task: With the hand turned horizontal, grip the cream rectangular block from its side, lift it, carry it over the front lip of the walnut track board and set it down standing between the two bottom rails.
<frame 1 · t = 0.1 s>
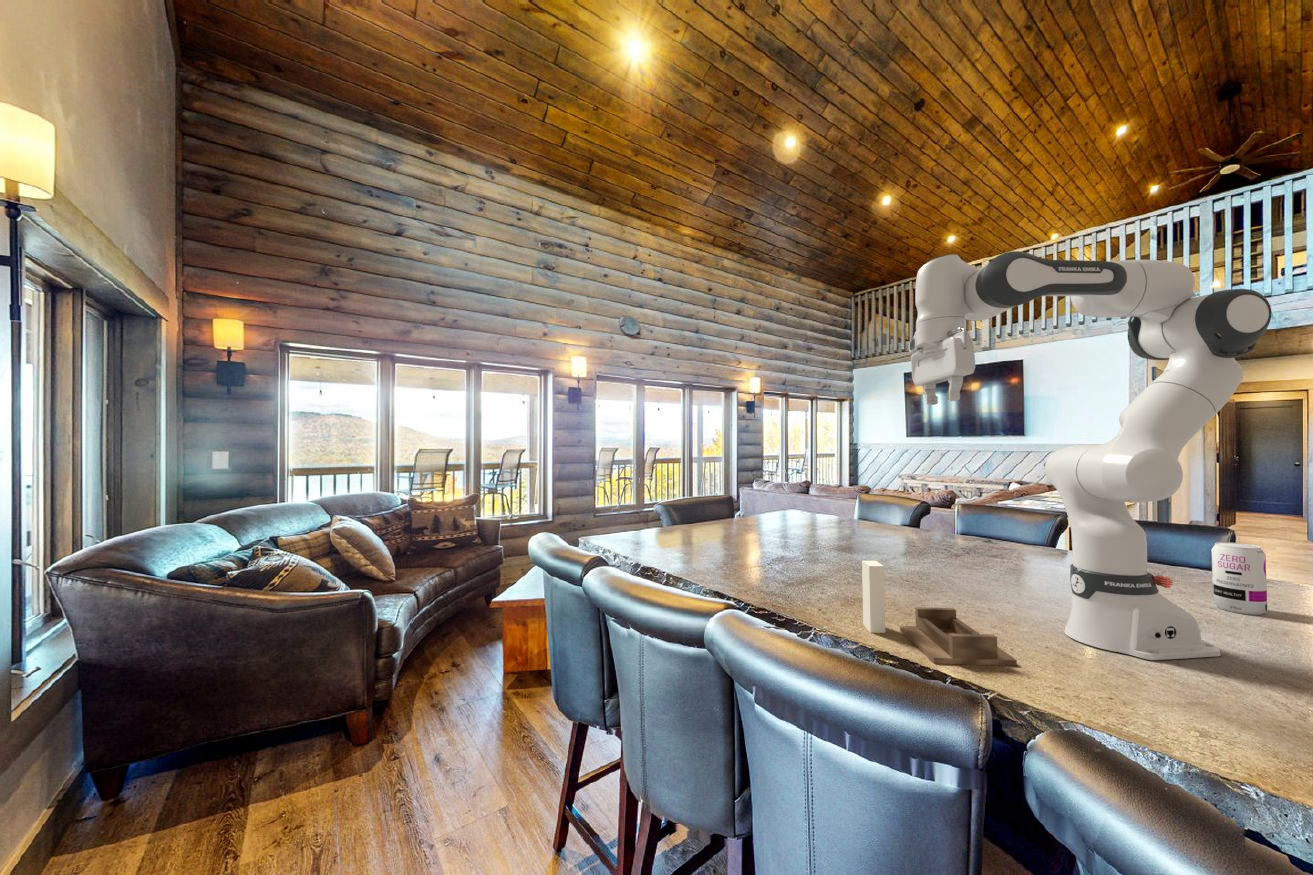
hand: (942, 403, 103), 48 cm above the table, tool pointing down, fingers open, 8 cm apart
track board: (953, 646, 98), on the table
supplement can: (1239, 610, 116), on the table
cream rectangular block: (874, 628, 108), on the table
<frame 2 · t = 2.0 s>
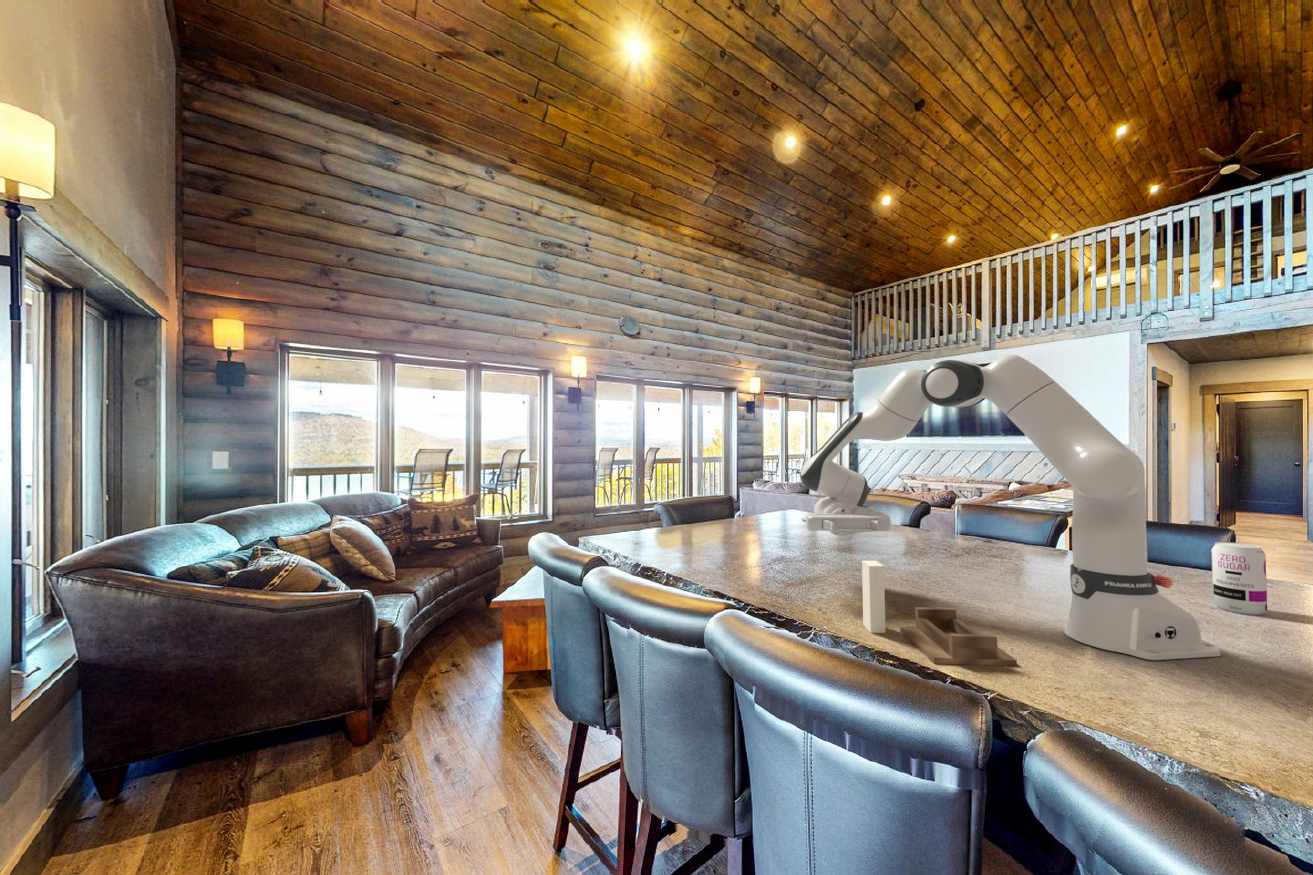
hand: (855, 527, 120), 20 cm above the table, tool horizontal, fingers open, 8 cm apart
nothing on the table moved.
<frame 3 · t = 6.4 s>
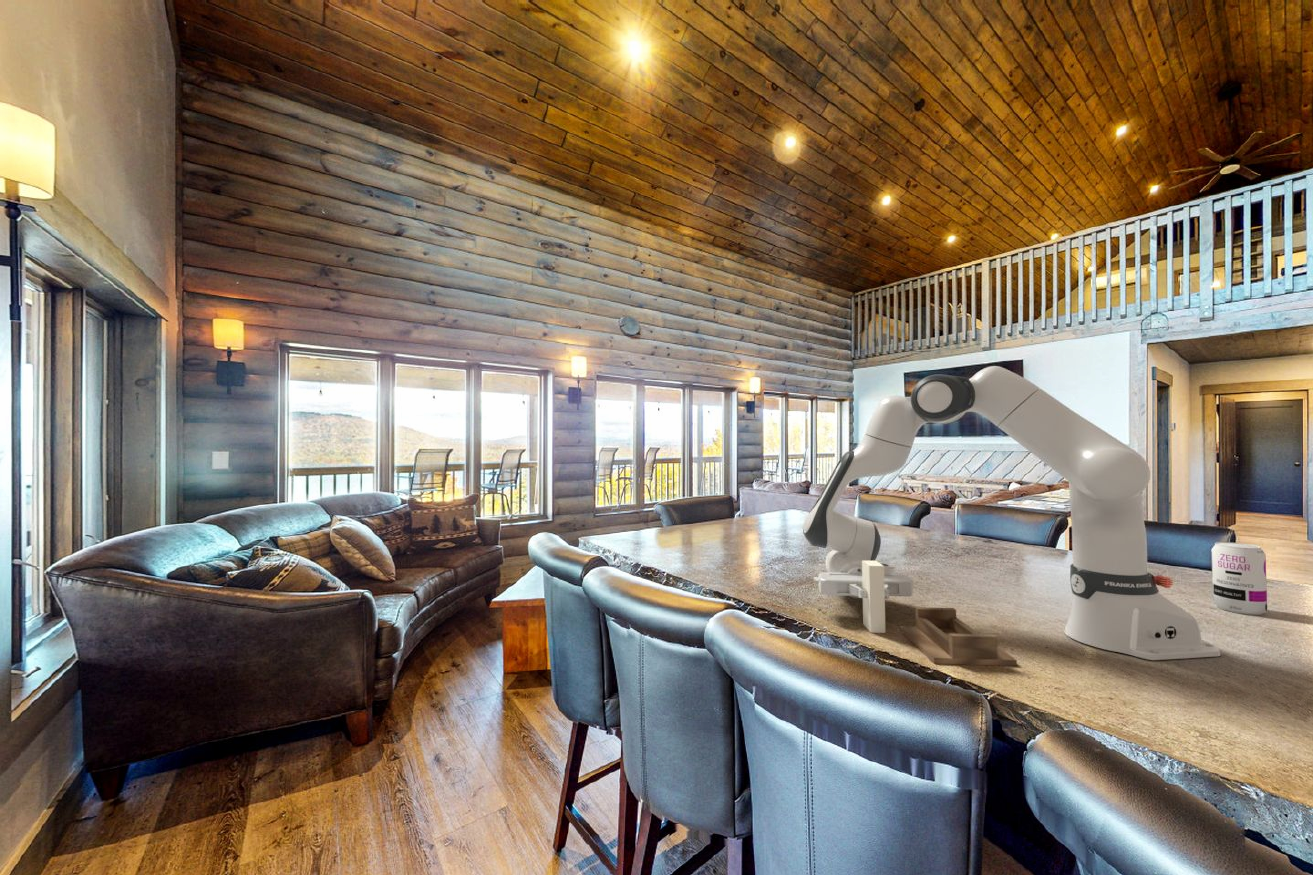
hand: (874, 594, 107), 8 cm above the table, tool horizontal, fingers closed on cream rectangular block, 3 cm apart
cream rectangular block: (874, 628, 108), on the table, touching gripper
everything else where it was.
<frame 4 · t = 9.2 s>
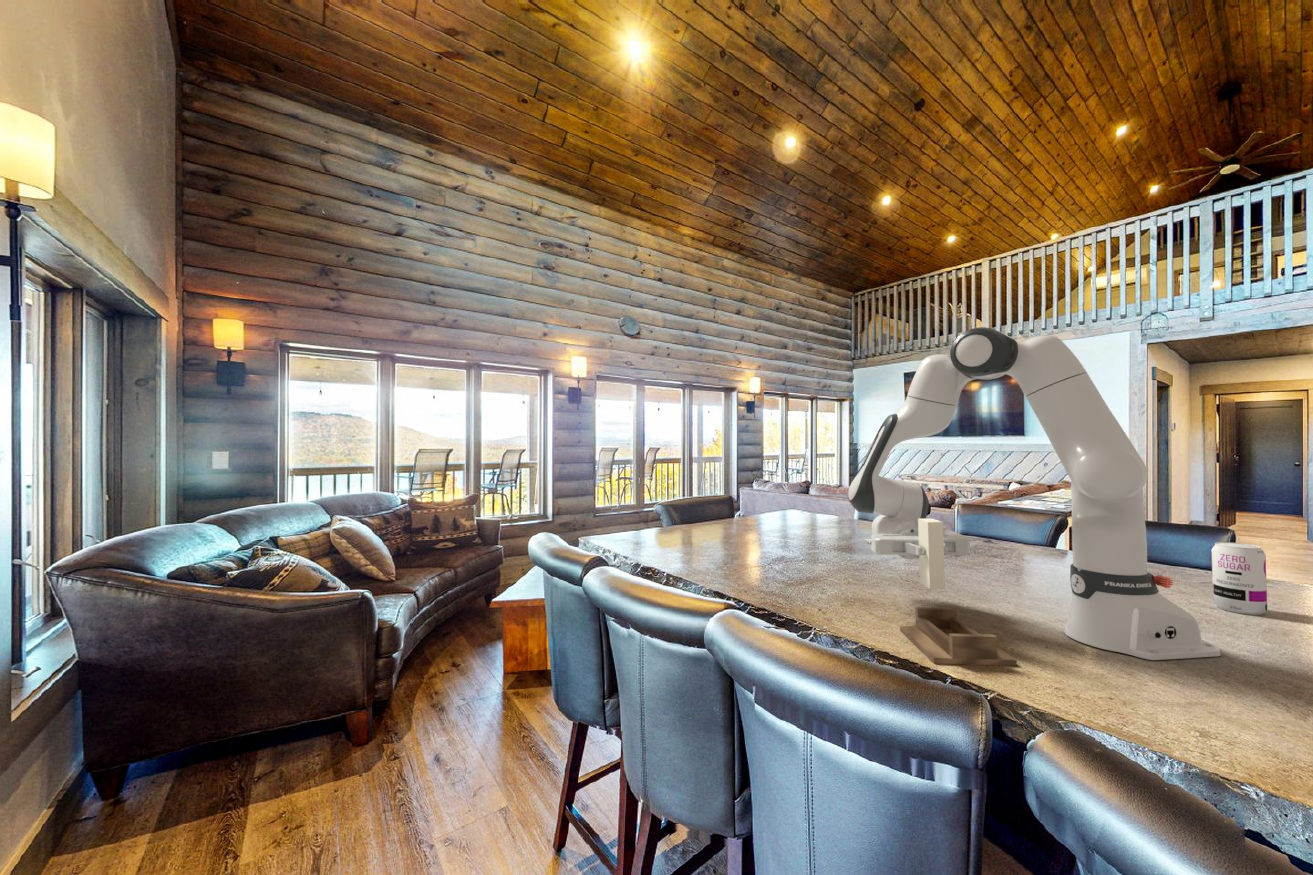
hand: (933, 551, 106), 17 cm above the table, tool horizontal, fingers closed on cream rectangular block, 3 cm apart
cream rectangular block: (932, 585, 107), point 9 cm above the table, touching gripper
everything else where it was.
when the fingers open (10 cm above the table, at t = 12.0 s): cream rectangular block drops 2 cm, resting on track board.
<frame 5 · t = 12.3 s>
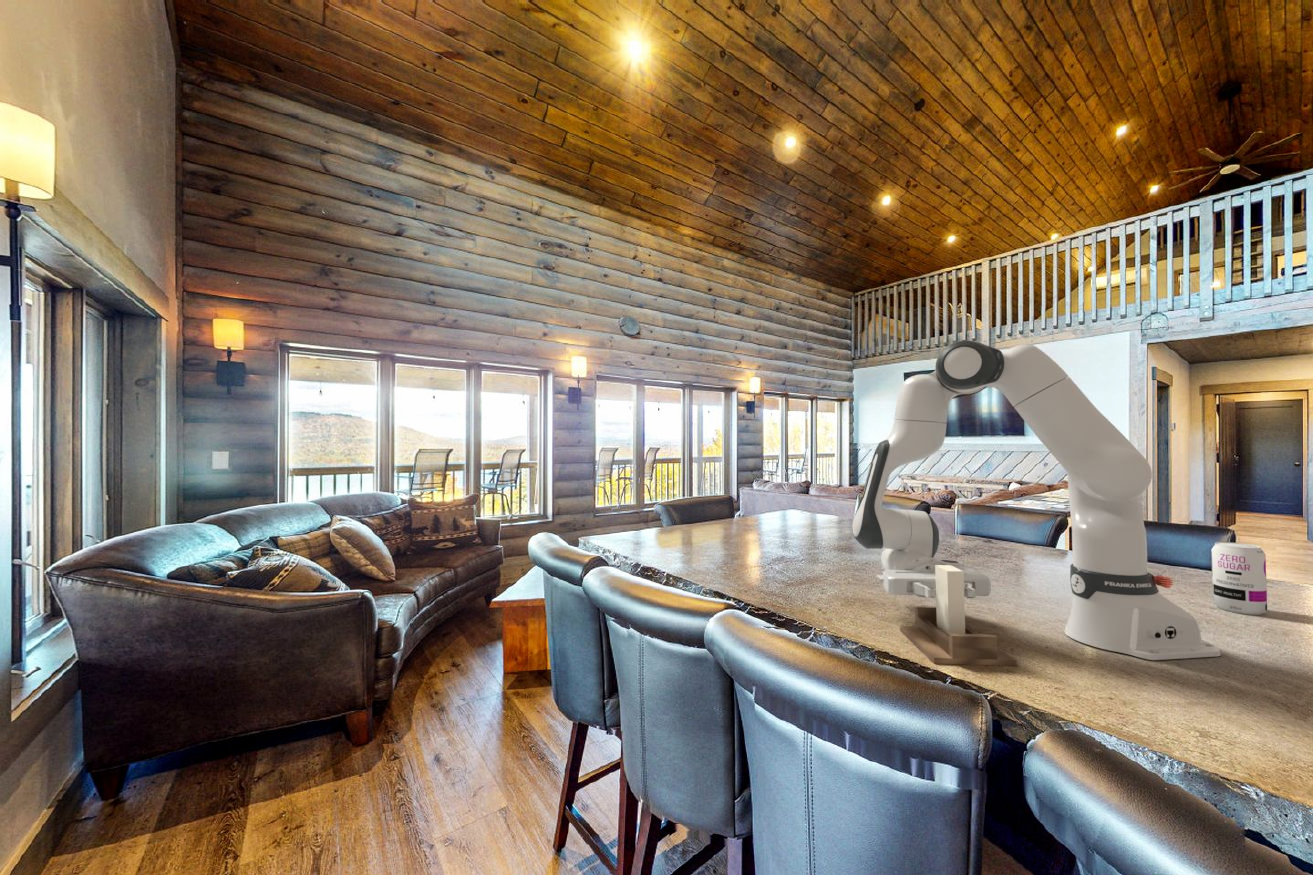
hand: (951, 594, 98), 10 cm above the table, tool horizontal, fingers open, 6 cm apart
cream rectangular block: (950, 639, 99), point 1 cm above the table, touching track board
everything else where it was.
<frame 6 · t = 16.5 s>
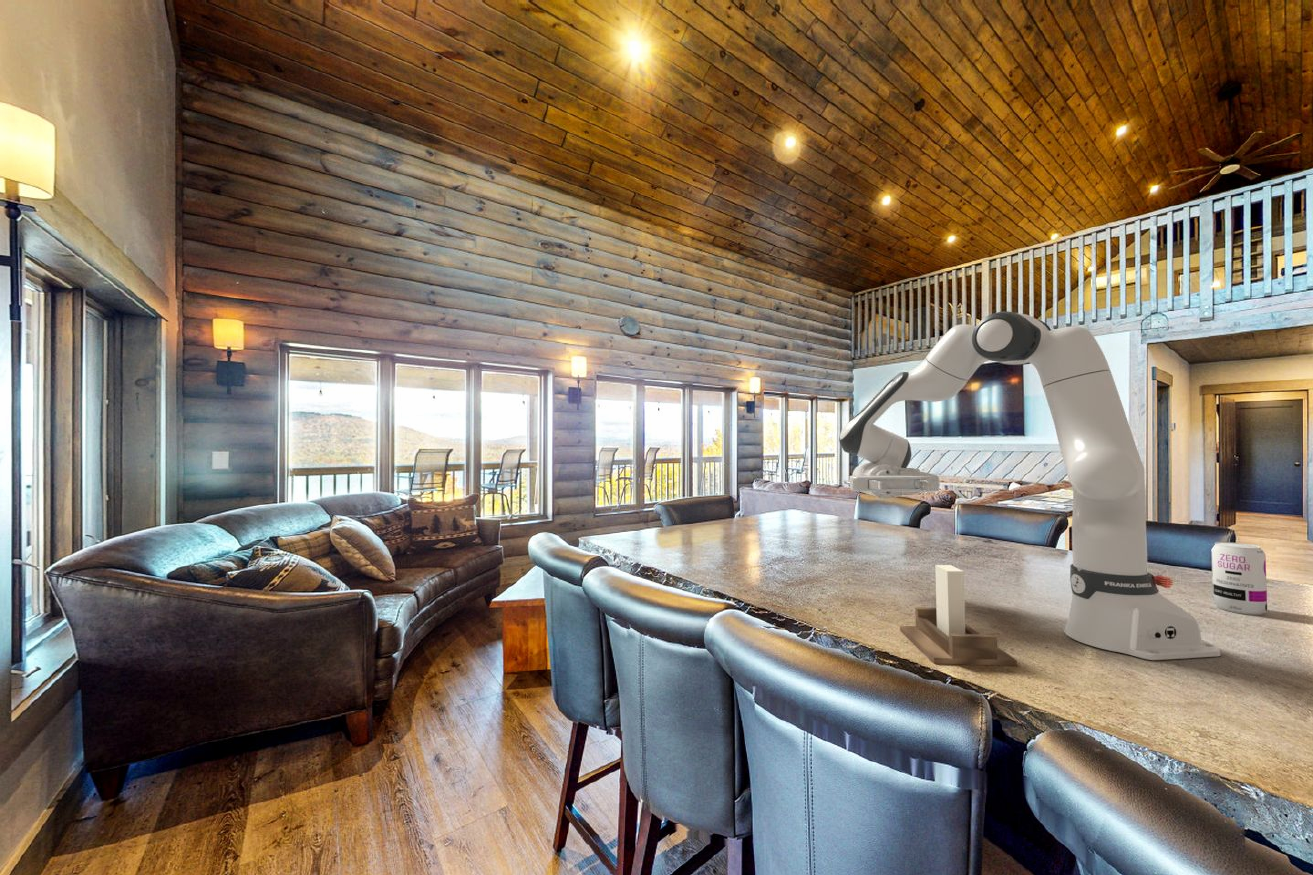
hand: (904, 485, 115), 30 cm above the table, tool horizontal, fingers open, 8 cm apart
nothing on the table moved.
at the end: cream rectangular block inside the target area on the track board (1.0 cm from its centre), point 1.0 cm above the track board's base; cream rectangular block tilted 0°; the gripper is holding nothing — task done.
